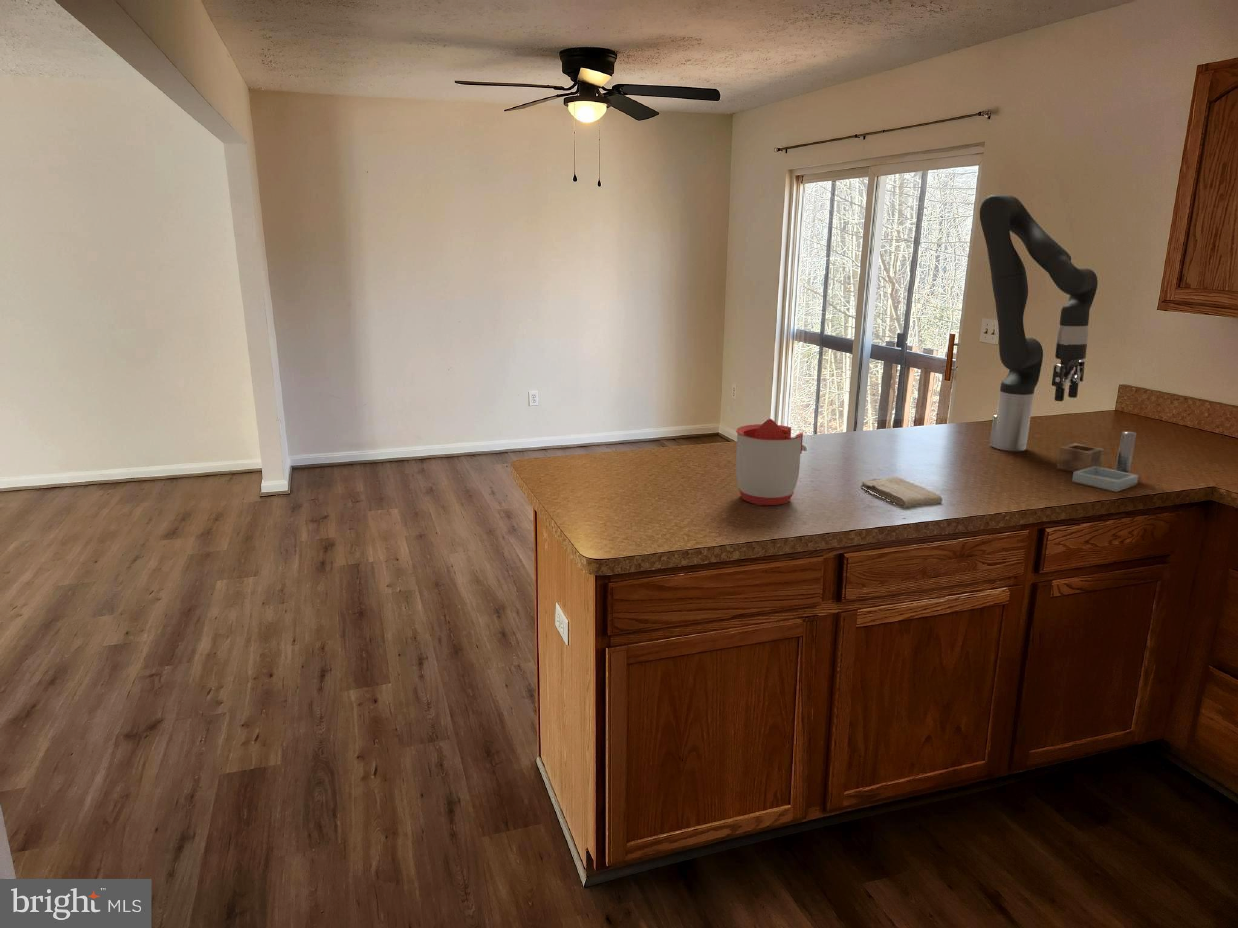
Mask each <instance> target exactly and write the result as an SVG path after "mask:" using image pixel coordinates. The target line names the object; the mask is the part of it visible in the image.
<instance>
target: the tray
mask: <svg viewBox="0 0 1238 928" xmlns="http://www.w3.org/2000/svg"><path fill="white" fill-rule="evenodd" d="M1071 480H1072V482H1075V483H1078V484H1082V485H1086V486H1091V487H1095V488H1099V489H1104V490H1108V491H1111V492H1115V493H1116V492H1119V491H1122V490H1126V489H1128V488H1132V487H1134V486H1137V485H1138V480H1139V475H1138V474H1133V473H1130V472H1129V473H1125V472H1120V471H1116V470H1115V469H1112V468H1111V469H1110V468H1106V467H1102V466H1101V467H1097V466H1092V467H1089V468H1086V469H1082V470H1079V471H1076V472H1073V473H1072V479H1071Z"/></svg>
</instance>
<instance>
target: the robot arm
mask: <svg viewBox="0 0 1238 928" xmlns="http://www.w3.org/2000/svg"><path fill="white" fill-rule="evenodd" d="M978 214H979V221H980V225H981V228H982V233H983V236H984V240H985V245H986V250H987V256H988V263H989V268H990V269H989V271H990V275H991V277H990V278H991V284H992V291H993V296H994V303H995V312H996V317H997V318H996V319H997V325H998V326H997V328H998V352H999V353H998V354H999V359H1000V361H1001V362H1000V363H1001V364H1002V365H1003V366H1004V368H1006V369H1007V370H1008V374H1007V375H1006V377H1005V378H1004V379H1003V380H1002V381H1001V383H1000V388H999V394H998V395H999V396H998V401H997V410H996V414H994V415H993V416H992V417H993V418H992V425H991V432H990V433H991V434H990V438H989V447H992V448H994V449H998V450H1001V451H1008V452H1009V451H1010V452H1023V451H1026V450H1027V445H1028V437H1029V430H1030V423H1031V416H1032V409H1033V402H1034V395H1035V389H1036V387H1037V385H1038V383H1039V380H1040V376H1041V371H1042V365H1043V358H1044V349H1043V345H1042V344H1041V342H1040V341H1038V340H1037V339H1036V338H1034V337H1026V332H1025V326H1024V314H1025V309H1026V306H1027V302H1028V297H1029V284H1028V283H1029V282H1028V277H1027V272H1026V267H1025V264H1024V262H1023V260H1022V258H1021V256H1020V255H1019V253H1018V251H1017V249H1016V248H1015V245H1014V244H1013V241H1012V238H1011V233H1012V234H1014V235H1016V236H1017V237H1018V238H1019V240H1021V242H1022V244H1023V245H1024V247H1025V249H1026V250H1027V253H1028V255H1029V256H1030V257H1031V258H1032V260H1034V261H1035V263H1036V264H1038V265H1039V267H1041V268H1042V269H1043V270H1044V271H1045V272H1046V273H1047V274H1048V275H1049V277H1050V279H1051V280H1052V281H1053V283H1054V284H1055V286H1056V287H1057V288H1058V289H1059V290H1060V291H1061V292H1062V293H1064V294H1066V295H1069V297H1068V301H1067V303H1066V304H1065V305H1064V304H1063V306H1062V307H1061V310H1060V316H1059V327H1058V329H1057V330H1058V331H1057V337H1056V344H1055V346H1056V347H1055V359H1057V360H1060V363H1059V364H1054V365H1053V371H1052V378H1051V386H1052V387H1054V388H1055V392H1054V401H1055V402H1063V401H1064V400H1065V393H1066V385H1067V383H1068V382H1069V383H1068V384H1069V385H1068V394H1067V396H1068V398H1071V399H1077V398H1078V395H1079V394H1078V392H1079V385H1080V384H1081V383H1082V382H1083V381H1084V374H1085V364H1086V363H1085V362H1086V361H1085V359H1086V358H1087V348H1088V340H1089V324H1090V323H1089V322H1090V309H1091V307H1092V305H1093V302H1094V299H1095V296H1096V293H1097V289H1098V281H1099V280H1098V276H1097V274H1096V273H1095V272H1094V270H1093V269H1090V268H1084V267H1083V268H1078V267H1077V266H1076V265H1075V264H1074V263H1073V262H1072V256H1071V255H1070V254H1069V252H1067V250H1066V249H1065V248H1064V247H1062V246H1061V245H1060V244H1059V243H1057V241H1055V240H1054V239H1053V238H1052V237H1051V236H1050V235H1049V234H1048V233H1047V232H1046V231H1045V230H1044V229H1043V228H1042V227H1041V225H1039V224H1038V223H1037V221H1036V220H1035V219H1034V218H1033V216H1032V215H1031V213H1029V211H1028V210H1027V208H1026V207H1025V205H1024V204H1023V203H1022V201H1020V199H1019V198H1017V197H1016V196H1013V195H1010V194H991V195H988V196H987V197H986V198H984V200H983V201H982V203H981V204H980V208H979V213H978Z"/></svg>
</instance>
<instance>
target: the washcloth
mask: <svg viewBox="0 0 1238 928" xmlns="http://www.w3.org/2000/svg"><path fill="white" fill-rule="evenodd" d="M861 483H862V484H860V485H861V486H860V488H862V487H864V488H866V489H867V490H870V491H872V492H874V493H876V494H878V495H879V496H881V497H884V498H885V499H888V500H890V501H891V502H892V503H891V502H890V503H891V504H893V503H895V504H894V505H896V506H897V505H898V506H897V507H900V508H914V507H918V506H929V505H937V504H941V503H942V502H943V497H942V495H940V494H939V493H936V492H934V491H933V490H932V491H931V490H929V489H927V488H925V487H923V486H921V485H918V484H915V483H914V482H910V481H909V480H906V479H903V478H901V477H898V476H892V477H891V476H890V477H888V478H872V479H866V480H862V482H861Z"/></svg>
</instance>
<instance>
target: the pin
mask: <svg viewBox="0 0 1238 928" xmlns="http://www.w3.org/2000/svg"><path fill="white" fill-rule="evenodd" d="M1136 437H1137V432H1134V431H1127V430H1126V431H1125V430H1124V431H1122V432H1121V437H1120V441H1119V448H1118V453H1117V459H1116V465H1115V469H1114V470H1116V471H1120V472H1125V473H1130V470H1131V465H1132V458H1133V454H1134V448H1135V443H1136Z"/></svg>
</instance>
